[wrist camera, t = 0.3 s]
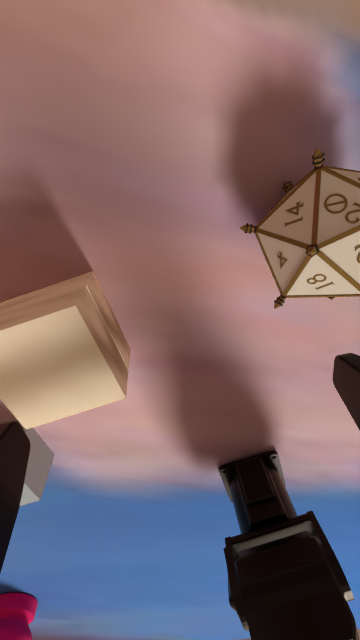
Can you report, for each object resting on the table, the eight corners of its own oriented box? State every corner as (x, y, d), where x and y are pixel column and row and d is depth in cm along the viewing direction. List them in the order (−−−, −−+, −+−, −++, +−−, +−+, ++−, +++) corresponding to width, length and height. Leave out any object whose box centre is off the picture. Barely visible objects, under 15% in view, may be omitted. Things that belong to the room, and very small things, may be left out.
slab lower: (130, 347, 24) (128, 369, 22) (51, 372, 25) (40, 397, 22) (93, 269, 21) (86, 284, 18) (3, 300, 21) (-17, 319, 19)
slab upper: (128, 369, 22) (125, 398, 19) (40, 397, 22) (25, 429, 19) (85, 285, 18) (75, 305, 16) (-18, 320, 19) (-45, 345, 16)
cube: (54, 453, 29) (40, 500, 25) (12, 466, 29) (-9, 514, 25) (29, 423, 27) (10, 468, 23) (-16, 437, 27) (-44, 484, 23)
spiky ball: (251, 225, 24) (190, 243, 16) (348, 126, 19) (327, 84, 11) (324, 309, 23) (298, 370, 16) (447, 232, 18) (499, 266, 10)
